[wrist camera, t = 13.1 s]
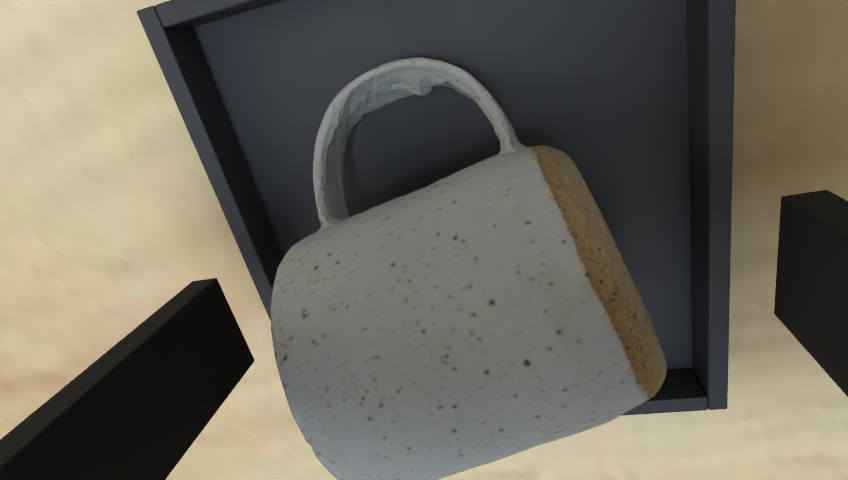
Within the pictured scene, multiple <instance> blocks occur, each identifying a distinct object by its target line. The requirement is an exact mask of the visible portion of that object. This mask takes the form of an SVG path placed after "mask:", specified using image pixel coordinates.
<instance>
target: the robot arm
mask: <svg viewBox="0 0 848 480" xmlns="http://www.w3.org/2000/svg"><path fill="white" fill-rule="evenodd" d="M774 314H775V315H776V316H777V317H778V318H779V319H780V321H781V322H782V323H783V324H784V325H785V326H786V327H787V328H788V330H789V331H790V332H791V333H792V334H793V335H794V336H795V338H796V339H797V340H798V341H799V342H800V343H801V344H802V345H803V347H804V348H805V349H806V350H807V351H808V352H809V353H810V354H811V356H812V357H813V358H814V359H815V360H816V361H817V362H818V364H819V365H820V366H821V367H822V368H823V369H824V370H825V371H826V373H827V374H828V375H829V376H830V377H831V378H832V379H833V380H834V382H835V383H836V384H837V385H838V386H839V387H840V388H841V390H842V391H843V392H844V393H845V394H846V395H847V396H848V201H846V200H844V199H843V198H841V197H839V196H837V195H835V194H833V193H832V192H830V191H828V190H823V191H816V192H809V193H802V194H795V195H788V196H781V211H780V228H779V244H778V260H777V277H776V293H775V309H774ZM253 362H254V358H253V356H252V354H251V352H250V350H249V348H248V345H247V343H246V341H245V339H244V337H243V335H242V332H241V330H240V328H239V326H238V324H237V322H236V319H235V317H234V315H233V313H232V311H231V309H230V306H229V304H228V302H227V300H226V298H225V296H224V293H223V291H222V289H221V287H220V285H219V283H218V280H217V278H214V279H207V280H200V281H193V282H191V283H190V284H189V285H188V286H186V287H185V288H184V289H183V290H182V291H180V292H179V293H178V294H177V295H176V296H174V297H173V298H172V299H171V300H169V301H168V302H167V303H166V304H165V305H163V306H162V307H161V308H160V309H159V310H157V311H156V312H155V313H154V314H152V315H151V316H150V317H149V318H148V319H146V320H145V321H144V322H143V323H142V324H140V325H139V326H138V327H137V328H135V329H134V330H133V331H132V332H131V333H129V334H128V335H127V336H126V337H124V338H123V339H122V340H121V341H120V342H118V343H117V344H116V345H115V346H114V347H112V348H111V349H110V350H109V351H107V352H106V353H105V354H104V355H103V356H101V357H100V358H99V359H98V360H97V361H95V362H94V363H93V364H92V365H90V366H89V367H88V368H87V369H86V370H84V371H83V372H82V373H81V374H80V375H78V376H77V377H76V378H75V379H73V380H72V381H71V382H70V383H69V384H67V385H66V386H65V387H64V388H63V389H61V390H60V391H59V392H58V393H56V394H55V395H54V396H53V397H52V398H50V399H49V400H48V401H47V402H46V403H44V404H43V405H42V406H41V407H39V408H38V409H37V410H36V411H35V412H33V413H32V414H31V415H30V416H29V417H27V418H26V419H25V420H24V421H22V422H21V423H20V424H19V425H18V426H16V427H15V428H14V429H13V430H12V431H10V432H9V433H8V434H7V435H5V436H4V437H3V438H2V439H1V440H0V480H165V479H166V478H167V476H168V475H169V474H170V472H171V471H172V470H173V468H174V467H175V466H176V464H177V463H178V462H179V460H180V459H181V458H182V456H183V455H184V454H185V452H186V451H187V450H188V448H189V447H190V446H191V444H192V443H193V442H194V440H195V439H196V438H197V437H198V435H199V434H200V433H201V431H202V430H203V429H204V427H205V426H206V425H207V423H208V422H209V421H210V419H211V418H212V417H213V415H214V414H215V413H216V411H217V410H218V409H219V407H220V406H221V405H222V403H223V402H224V401H225V399H226V398H227V397H228V395H229V394H230V393H231V391H232V390H233V389H234V387H235V386H236V385H237V383H238V382H239V381H240V379H241V378H242V377H243V375H244V374H245V373H246V371H247V370H248V369H249V367H250V366H251V365H252V363H253Z"/></svg>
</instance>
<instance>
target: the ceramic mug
mask: <svg viewBox="0 0 848 480" xmlns="http://www.w3.org/2000/svg"><path fill="white" fill-rule="evenodd" d="M440 85H441V86H447V87H451V88H453V89H455V90H457V91H458V92H460V93H462V94H464V95H466V96H468V97H469V98H471V99H473V100H474V101H475V102H476V103H477V104H478V105H479V107H480V108H481V109H482V111H483V112H484V113H485V115H486V116H487V118H488V119H489V121H490V122H491V124H492V125H493V127H494V130H495V133H496V135H497V136H498V138H499V139H500V147H501V150H500V152H499V154H497V155H495V156H492V157H490V158H488V159H485V160H483V161H480V162H478V163H476V164H474V165H471V166H469V167H467V168H465V169H462V170H460V171H458V172H456V173H454V174H452V175H450V176H448V177H445V178H443V179H440V180H438V181H437V182H435V183H433V184H431V185H429V186H426V187H424V188H421V189H419V190H416V191H414V192H411V193H409V194H407V195H404V196H401V197H397V198H395V199H393V200H390V201H388V202H386V203H383V204H381V205H379V206H376V207H373V208H370V209H368V210H366V211H365V212H362V213H359V214H356V215H353V216H352V217H349V215H348V210H347V206H346V202H345V195H344V187H343V156H344V151H345V148H346V144H347V140H348V138H349V136H350V133H351V130H352V129H353V127H354V126H355V124H356V123H357V122H359V121H360V120H362V118H363V117H364V115H365V114H367V113H369V112H371V111H373V110H376V109H378V108H380V107H383V106H385V105H387V104H390V103H392V102H394V101H396V100H398V99H401V98H405V97H408V96H412V95H419V96H426V95H427V94H429V93H430V92H431V91H432V90H433V88H434V87H435V86H440ZM313 184H314V192H315V199H316V206H317V209H318V216H319V220H320V223H321V228H320V229H319V230H318V231H317V232H315V233H313V234H311V235H309V236H307V237H305V238H304V239H302V240H301V241H300V242H298V243H296V244H294V245H293V246H292V247H291V248H290V249H289V251H288V252H287V254H286V255H285V257H284V258H283V260H282V261H281V263H280V265H279V266H278V269H277V273H276V277H275V281H274V285H273V292H272V301H271V309H270V312H271V332H272V339H273V346H274V353H275V359H276V363H277V367H278V371H279V375H280V379H281V382H282V385H283V388H284V391H285V395H286V398H287V401H288V404H289V407H290V409H291V412H292V415H293V417H294V419H295V421H296V423H297V425H298V426H299V428H300V430H301V432H302V434H303V436H304V438H305V440H306V442H307V443H308V444H310V445H311V447H312V449H313V451H314V453H315V456H316V457H317V458H318V459H319V461H320V462H321V463H322V464H323V466H324V467H325V468H326V469H327V470H328V471H329V472H330V473H331V474H332V475H333V476H334V477H336V478H337V479H338V480H438V479H441V478H444V477H447V476H450V475H453V474H456V473H459V472H462V471H465V470H468V469H471V468H474V467H477V466H480V465H483V464H487V463H490V462H493V461H496V460H499V459H502V458H504V457H507V456H510V455H513V454H515V453H518V452H521V451H524V450H527V449H529V448H532V447H535V446H538V445H541V444H544V443H547V442H551V441H554V440H557V439H560V438H563V437H567V436H570V435H573V434H576V433H579V432H582V431H585V430H588V429H590V428H593V427H596V426H599V425H602V424H604V423H607V422H609V421H611V420H613V419H614V418H616V417H618V416H620V415H622V414H624V413H625V412H627V411H629V410H631V409H633V408H635V407H636V406H638V405H640V404H642V403H643V402H645V401H647V400H649V399H650V398H652V397H654V396H655V394H656V393H657V392H658V390H659V389H660V388H661V386H662V384H663V382H664V379H665V376H666V370H667V366H666V360H665V357H664V354H663V351H662V349H661V346H660V344H659V341H658V339H657V336H656V334H655V331H654V328H653V325H652V322H651V319H650V317H649V315H648V313H647V310H646V308H645V306H644V304H643V302H642V300H641V297H640V295H639V293H638V291H637V289H636V286H635V284H634V282H633V280H632V278H631V276H630V274H629V271H628V269H627V267H626V265H625V263H624V261H623V259H622V256H621V254H620V252H619V250H618V248H617V246H616V244H615V241H614V239H613V237H612V235H611V233H610V231H609V229H608V227H607V224H606V222H605V220H604V218H603V216H602V214H601V212H600V210H599V208H598V206H597V204H596V202H595V200H594V198H593V196H592V194H591V192H590V190H589V189H588V187H587V185H586V183H585V181H584V179H583V177H582V175H581V173H580V172H579V170H578V168H577V166H576V165H575V163H574V161H573V160H572V159H571V158H570V157H569V156H568V155H567V153H565V152H563V151H561V150H558V149H556V148H553V147H550V146H545V145H540V146H531V147H526V146H524V145H522V144H521V143H519V142H518V139H517V137H516V135H515V132H514V128H513V127H512V125H511V123H510V122H509V120H508V118H507V117H506V115H505V113H504V112H503V110H502V109H501V107H500V106H499V104H498V103H497V101H496V100H495V99H494V98H493V96H492V95H491V94H490V93H489V91H488V90H487V89H486V88H485V87H484V86H483V85H482V84H481V83H480V82H479V81H478V80H477V79H475V78H474V77H473V76H472V75H470V74H469V73H468V72H466V71H464V70H463V69H461V68H459V67H456V66H454V65H451V64H449V63H446V62H443V61H441V60H434V59H427V58H422V57H414V58H408V59H399V60H395V61H391V62H388V63H386V64H383V65H380V66H378V67H376V68H374V69H372V70H370V71H368V72H366V73H364V74H362V75H360V76H359V77H357V78H356V79H354V80H353V81H352V82H350V83H349V84H348V85H347V86H345V87H344V88H343V89H342V90H341V91H340V92H339V93H338V94H337V95H336V97H335V98H334V99H333V101H332V102H331V104H330V105H329V107H328V109H327V111H326V113H325V115H324V117H323V120H322V123H321V125H320V128H319V131H318V134H317V138H316V143H315V151H314V158H313Z"/></svg>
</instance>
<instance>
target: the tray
mask: <svg viewBox="0 0 848 480" xmlns="http://www.w3.org/2000/svg"><path fill="white" fill-rule="evenodd" d="M735 6H736V0H170V1H167V2H164V3H161V4H158V5H156V6H151V7H148V8H145V9H142V10H138V11H137V14H138V16H139V19H140V21H141V23H142V26H143V28H144V30H145V32H146V35H147V37H148V39H149V42H150V44H151V46H152V49H153V51H154V53H155V55H156V58H157V60H158V62H159V65H160V67H161V69H162V72H163V74H164V76H165V79H166V81H167V83H168V85H169V88H170V90H171V92H172V95H173V97H174V99H175V102H176V104H177V106H178V109H179V111H180V113H181V115H182V118H183V120H184V122H185V125H186V127H187V129H188V132H189V134H190V136H191V138H192V141H193V143H194V145H195V148H196V150H197V152H198V155H199V157H200V159H201V162H202V164H203V166H204V168H205V171H206V173H207V175H208V178H209V180H210V182H211V185H212V187H213V189H214V191H215V194H216V196H217V198H218V201H219V203H220V205H221V208H222V210H223V212H224V215H225V217H226V219H227V221H228V224H229V226H230V228H231V231H232V233H233V235H234V238H235V240H236V242H237V245H238V247H239V249H240V251H241V254H242V256H243V258H244V261H245V263H246V265H247V268H248V270H249V272H250V274H251V277H252V279H253V281H254V284H255V286H256V288H257V291H258V293H259V295H260V298H261V300H262V302H263V304H264V307H265V309H266V311H267V314H268V316H269V318H270V321H271V312H270V309H271V301H272V292H273V285H274V281H275V277H276V273H277V269H278V266H279V265H280V263H281V261H282V260H283V258H284V257H285V255H286V254H287V252H288V251H289V249H290V248H291V247H292V246H293V245H294V244H296V243H298V242H300V241H301V240H302V239H304V238H305V237H307V236H309V235H311V234H313V233H315V232H317V231H318V230H319V229H320V228H321V223H320V220H319V216H318V209H317V206H316V199H315V192H314V184H313V158H314V151H315V143H316V138H317V134H318V131H319V128H320V125H321V123H322V120H323V117H324V115H325V113H326V111H327V109H328V107H329V105H330V104H331V102H332V101H333V99H334V98H335V97H336V95H337V94H338V93H339V92H340V91H341V90H342V89H343V88H344V87H345V86H347V85H348V84H349V83H350V82H352V81H353V80H354V79H356V78H357V77H359V76H360V75H362V74H364V73H366V72H368V71H370V70H372V69H374V68H376V67H378V66H380V65H383V64H386V63H388V62H391V61H395V60H399V59H408V58H414V57H422V58H427V59H434V60H441V61H443V62H446V63H449V64H451V65H454V66H456V67H459V68H461V69H463V70H464V71H466V72H468V73H469V74H470V75H472V76H473V77H474V78H475V79H477V80H478V81H479V82H480V83H481V84H482V85H483V86H484V87H485V88H486V89H487V90H488V91H489V93H490V94H491V95H492V96H493V98H494V99H495V100H496V101H497V103H498V104H499V106H500V107H501V109H502V110H503V112H504V113H505V115H506V117H507V118H508V120H509V122H510V123H511V125H512V127H513V128H514V132H515V135H516V137H517V139H518V142H519V143H521V144H522V145H524V146H526V147H531V146H540V145H545V146H550V147H553V148H556V149H558V150H561V151H563V152H565V153H567V155H568V156H569V157H570V158H571V159H572V160H573V161H574V163H575V165H576V166H577V168H578V170H579V172H580V173H581V175H582V177H583V179H584V181H585V183H586V185H587V187H588V189H589V190H590V192H591V194H592V196H593V198H594V200H595V202H596V204H597V206H598V208H599V210H600V212H601V214H602V216H603V218H604V220H605V222H606V224H607V227H608V229H609V231H610V233H611V235H612V237H613V239H614V241H615V244H616V246H617V248H618V250H619V252H620V254H621V256H622V259H623V261H624V263H625V265H626V267H627V269H628V271H629V274H630V276H631V278H632V280H633V282H634V284H635V286H636V289H637V291H638V293H639V295H640V297H641V300H642V302H643V304H644V306H645V308H646V310H647V313H648V315H649V317H650V319H651V322H652V325H653V328H654V331H655V334H656V336H657V339H658V341H659V344H660V346H661V349H662V351H663V354H664V357H665V360H666V366H667V370H666V376H665V379H664V382H663V384H662V386H661V388H660V389H659V390H658V392H657V393H656V394H655V396H654V397H652V398H650V399H649V400H647V401H645V402H643V403H642V404H640V405H638V406H636V407H635V408H633V409H631V410H629V411H627V412H625V413H624V414H622V415H635V414H651V413H667V412H683V411H699V410H707V409H710V410H715V409H726V408H727V391H728V343H729V295H730V247H731V198H732V150H733V102H734V54H735ZM500 150H501V147H500V139H499V138H498V136H497V135H496V133H495V130H494V127H493V125H492V124H491V122H490V121H489V119H488V118H487V116H486V115H485V113H484V112H483V111H482V109H481V108H480V107H479V105H478V104H477V103H476V102H475V101H474V100H473V99H471V98H469V97H468V96H466V95H464V94H462V93H460V92H458V91H457V90H455V89H453V88H451V87H447V86H441V85H440V86H435V87H434V88H433V90H432V91H431V92H430V93H429V94H427V95H426V96H419V95H412V96H408V97H405V98H401V99H398V100H396V101H394V102H392V103H390V104H387V105H385V106H383V107H380V108H378V109H376V110H373V111H371V112H369V113H367V114H365V115H364V117H363V118H362V120H360V121H359V122H357V123H356V124H355V126H354V127H353V129H352V130H351V133H350V136H349V138H348V140H347V144H346V148H345V151H344V156H343V187H344V195H345V202H346V206H347V210H348V215H349V217H352V216H353V215H356V214H359V213H362V212H365V211H366V210H368V209H370V208H373V207H376V206H379V205H381V204H383V203H386V202H388V201H390V200H393V199H395V198H397V197H401V196H404V195H407V194H409V193H411V192H414V191H416V190H419V189H421V188H424V187H426V186H429V185H431V184H433V183H435V182H437V181H438V180H440V179H443V178H445V177H448V176H450V175H452V174H454V173H456V172H458V171H460V170H462V169H465V168H467V167H469V166H471V165H474V164H476V163H478V162H480V161H483V160H485V159H488V158H490V157H492V156H495V155H497V154H499V152H500Z"/></svg>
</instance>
